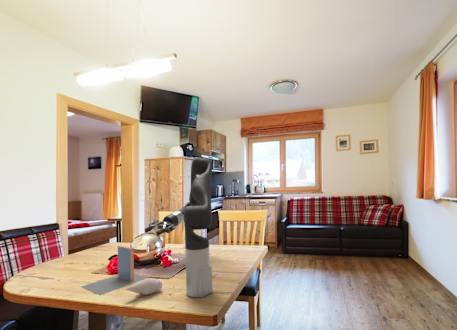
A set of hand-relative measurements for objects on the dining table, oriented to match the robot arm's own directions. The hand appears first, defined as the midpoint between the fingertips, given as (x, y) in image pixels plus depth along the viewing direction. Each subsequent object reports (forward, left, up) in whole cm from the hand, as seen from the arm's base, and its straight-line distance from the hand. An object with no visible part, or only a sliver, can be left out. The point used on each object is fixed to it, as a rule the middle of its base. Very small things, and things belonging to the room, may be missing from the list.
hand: (151, 232), depth 132 cm
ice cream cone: (-22, +20, -19) cm, 35 cm away
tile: (0, +14, -18) cm, 23 cm away
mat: (0, +19, -19) cm, 27 cm away
